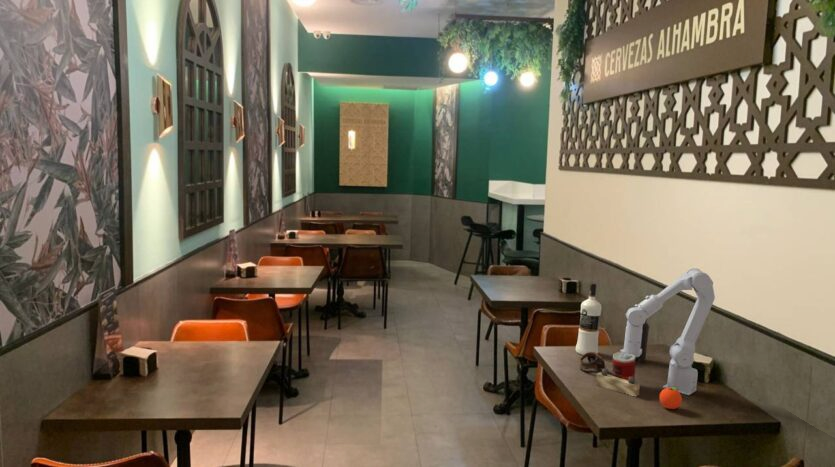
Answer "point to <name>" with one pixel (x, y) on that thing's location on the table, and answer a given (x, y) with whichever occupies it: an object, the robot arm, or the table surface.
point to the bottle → (644, 341)
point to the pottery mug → (592, 361)
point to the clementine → (670, 398)
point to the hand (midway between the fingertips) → (628, 376)
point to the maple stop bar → (617, 383)
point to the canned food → (623, 366)
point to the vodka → (589, 324)
